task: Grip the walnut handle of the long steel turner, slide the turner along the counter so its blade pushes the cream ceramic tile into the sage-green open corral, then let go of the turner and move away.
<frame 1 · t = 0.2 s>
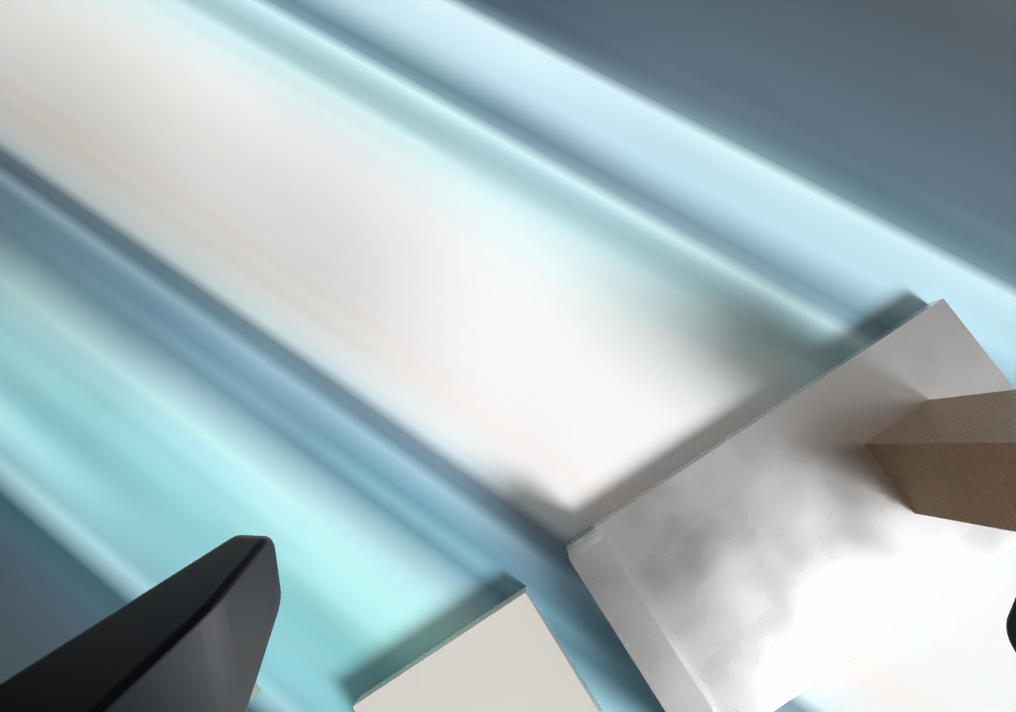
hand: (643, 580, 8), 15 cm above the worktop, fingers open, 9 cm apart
turner: (814, 516, 22), on the worktop
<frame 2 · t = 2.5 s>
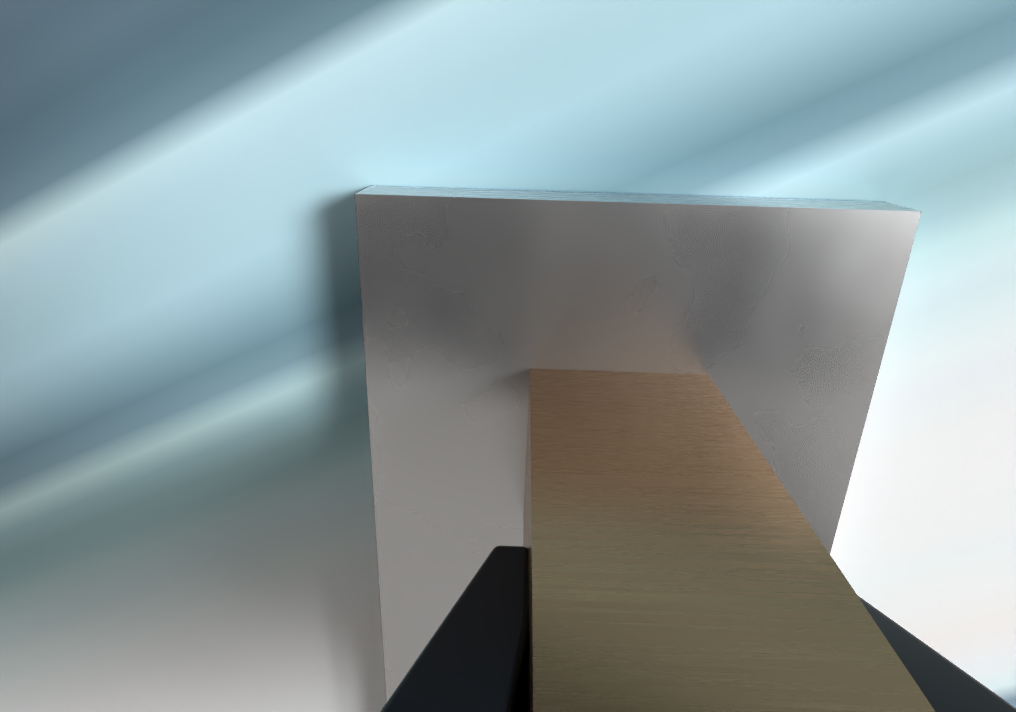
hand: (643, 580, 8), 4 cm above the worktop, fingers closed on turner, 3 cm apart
turner: (587, 595, 13), on the worktop, touching gripper
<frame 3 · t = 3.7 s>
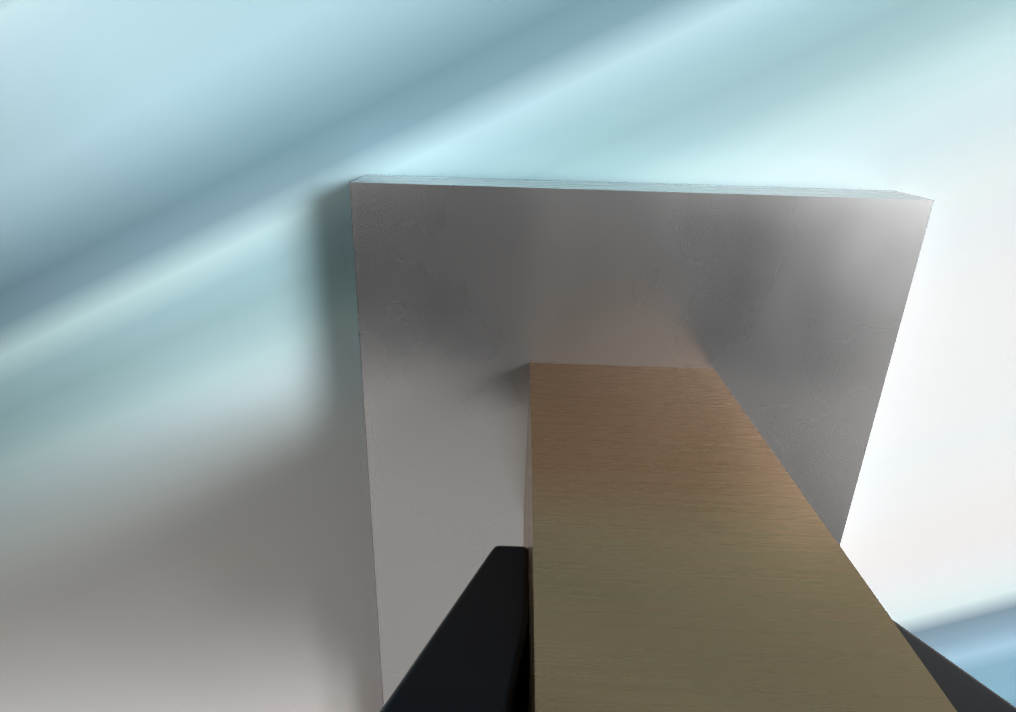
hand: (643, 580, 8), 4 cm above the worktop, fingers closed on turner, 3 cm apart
turner: (589, 596, 13), on the worktop, touching gripper, tile
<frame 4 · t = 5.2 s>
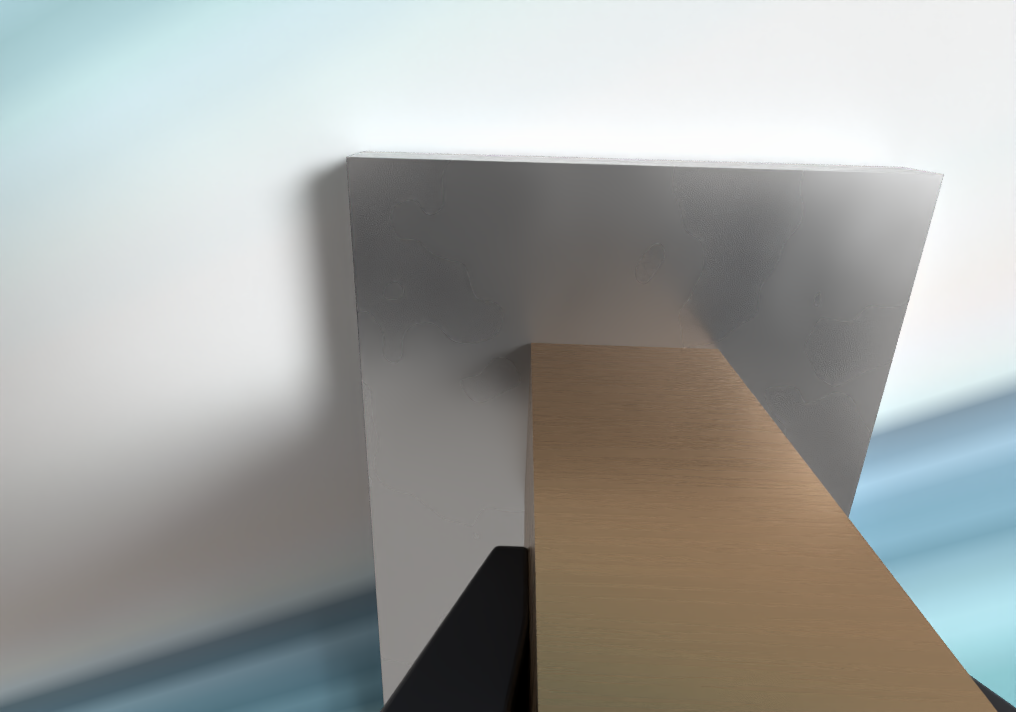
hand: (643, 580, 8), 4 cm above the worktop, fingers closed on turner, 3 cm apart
turner: (590, 582, 12), on the worktop, touching gripper
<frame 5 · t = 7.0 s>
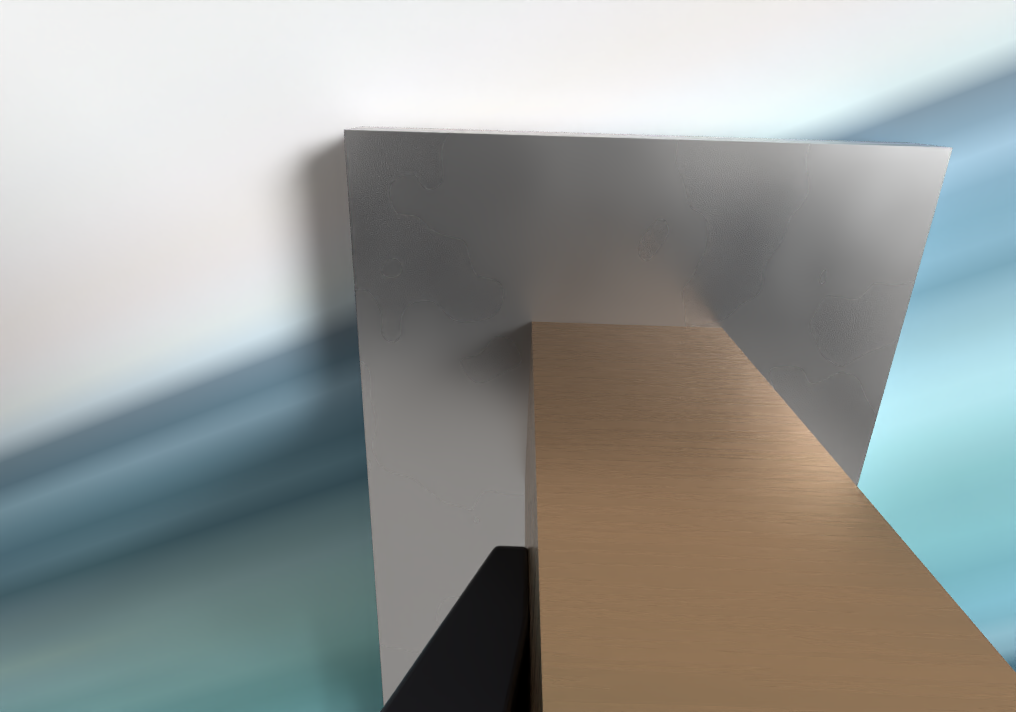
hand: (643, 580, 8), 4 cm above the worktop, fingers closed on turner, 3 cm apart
turner: (591, 568, 12), on the worktop, touching gripper, tile
when the fingers open (4 cm above the worktop, at t = 8.1 s): turner stays where it is, on the worktop.
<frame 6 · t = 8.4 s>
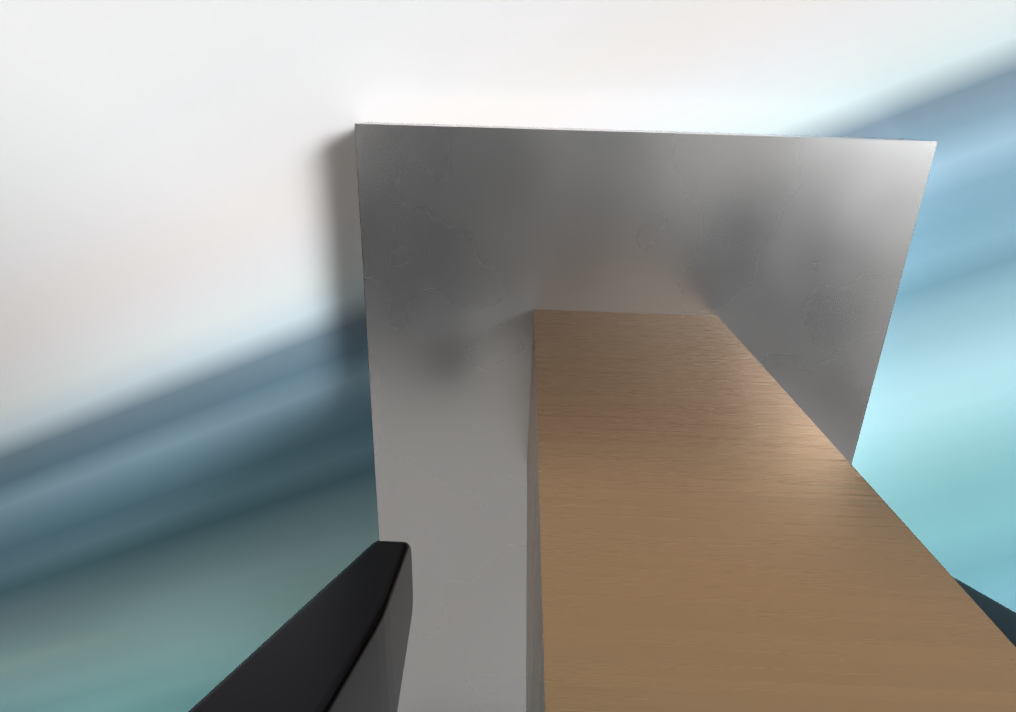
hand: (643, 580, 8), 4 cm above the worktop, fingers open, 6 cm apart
turner: (591, 555, 13), on the worktop
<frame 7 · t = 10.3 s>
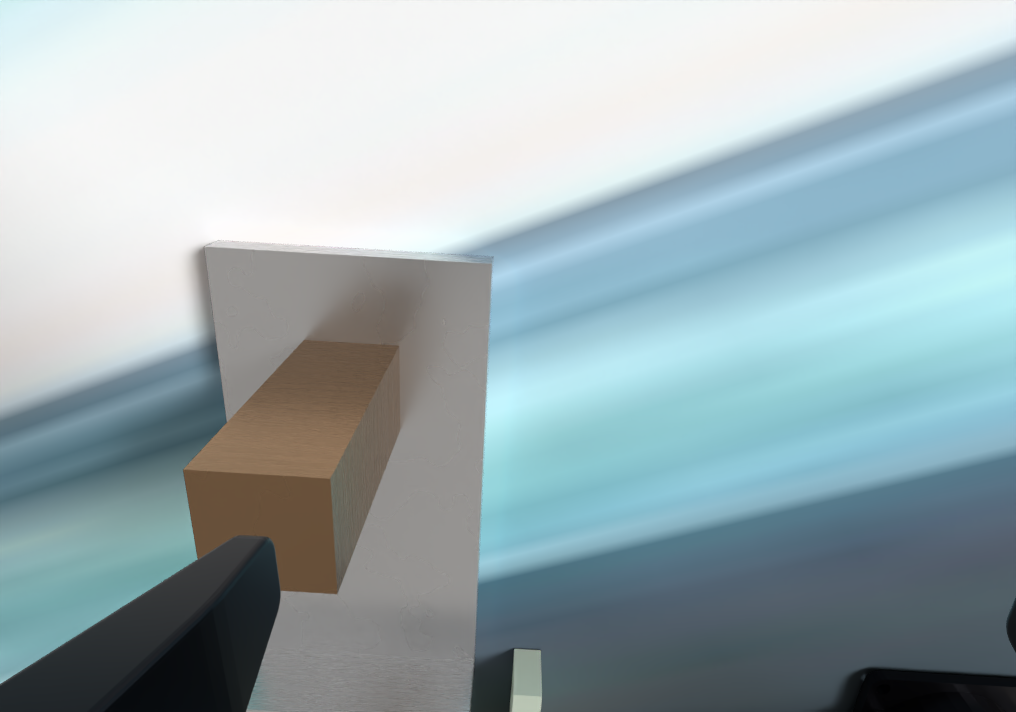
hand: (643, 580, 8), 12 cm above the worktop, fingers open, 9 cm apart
turner: (365, 480, 21), on the worktop
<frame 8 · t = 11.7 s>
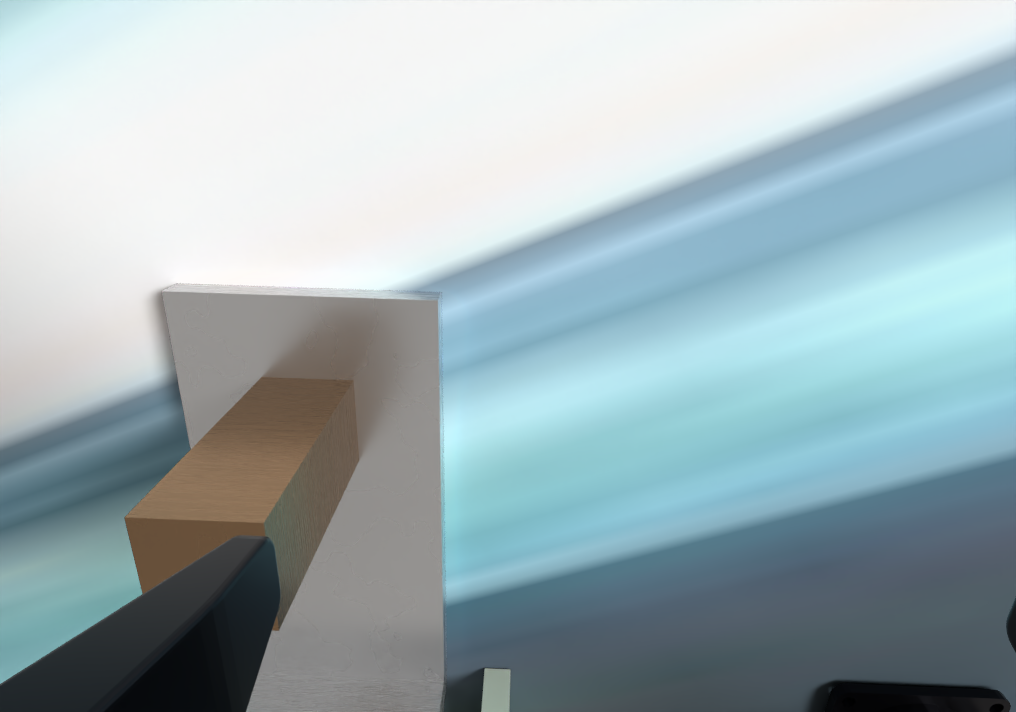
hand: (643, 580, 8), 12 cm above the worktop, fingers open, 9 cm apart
turner: (331, 508, 22), on the worktop
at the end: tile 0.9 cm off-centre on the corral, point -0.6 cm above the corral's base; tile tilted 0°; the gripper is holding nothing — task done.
